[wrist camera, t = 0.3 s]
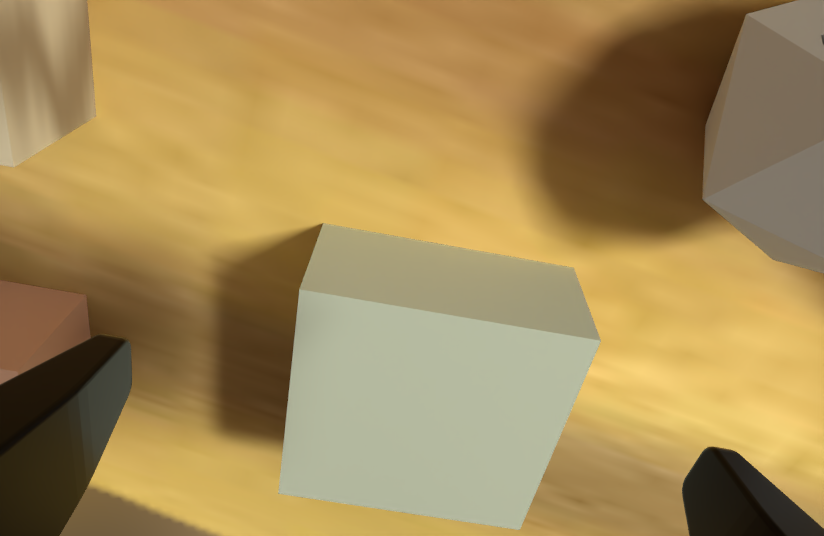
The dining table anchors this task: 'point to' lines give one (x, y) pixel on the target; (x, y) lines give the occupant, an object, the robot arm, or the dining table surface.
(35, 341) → the terracotta cube
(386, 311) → the sage block
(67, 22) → the birch cube
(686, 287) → the dining table surface
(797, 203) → the die
